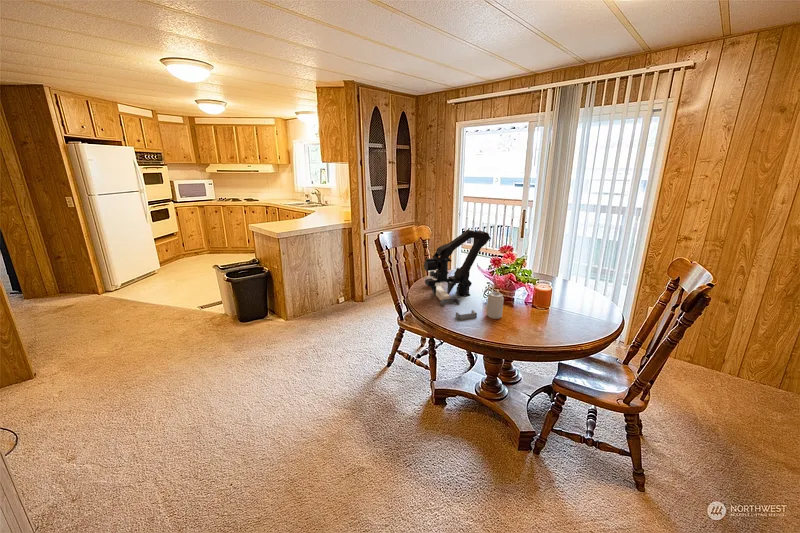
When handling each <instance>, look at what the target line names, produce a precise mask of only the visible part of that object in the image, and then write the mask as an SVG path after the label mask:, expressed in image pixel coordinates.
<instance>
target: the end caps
mask: <svg viewBox="0 0 800 533" xmlns="http://www.w3.org/2000/svg"><path fill="white" fill-rule="evenodd" d="M439 301H440V302H439V303H440V306H442V307H443V308H444V307H446V306H445V305H448V304H457V305H458V306H459V305H460V302H461V300H460V299H459V298H457V297H451V298H450V299H442V300H439ZM477 316H478V313H477V312H476V311H475V310H471V313H464V314H460V313H459V312H455V318H456V319H457V320H458V321H465V320H471V319H472V320H473V319H476V318H477Z"/></svg>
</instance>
